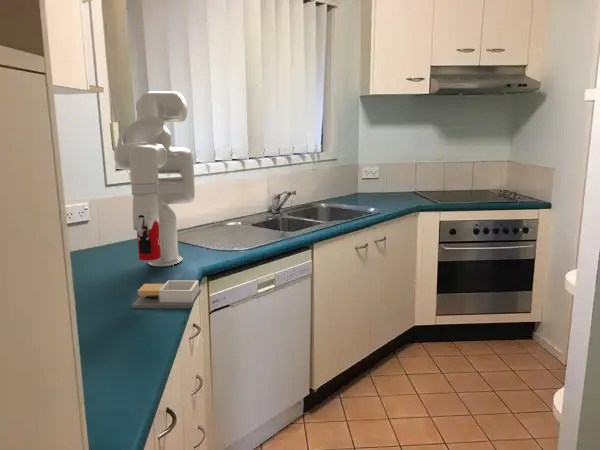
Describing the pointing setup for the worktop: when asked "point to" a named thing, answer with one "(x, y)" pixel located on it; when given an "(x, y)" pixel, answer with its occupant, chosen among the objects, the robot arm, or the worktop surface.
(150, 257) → the beverage can
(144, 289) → the tan flat square block
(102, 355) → the worktop surface
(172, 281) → the grey tray with holder
